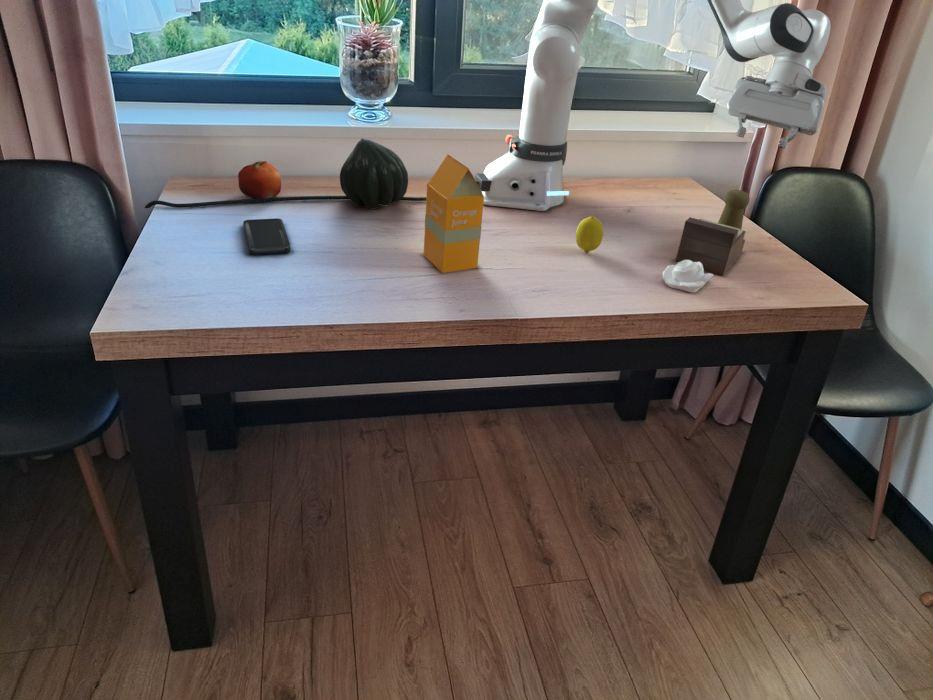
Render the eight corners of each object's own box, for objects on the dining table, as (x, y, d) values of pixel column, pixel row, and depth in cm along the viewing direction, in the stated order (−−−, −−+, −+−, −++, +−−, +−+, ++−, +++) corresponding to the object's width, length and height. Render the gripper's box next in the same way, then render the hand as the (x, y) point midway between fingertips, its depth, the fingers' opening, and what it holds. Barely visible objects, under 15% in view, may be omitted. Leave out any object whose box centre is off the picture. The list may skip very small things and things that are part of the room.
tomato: (290, 197, 167) (289, 162, 163) (260, 208, 161) (258, 172, 156) (261, 187, 171) (258, 153, 167) (230, 197, 165) (227, 162, 160)
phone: (248, 250, 139) (242, 219, 151) (249, 255, 140) (243, 224, 152) (291, 247, 142) (282, 218, 154) (291, 252, 142) (282, 223, 154)
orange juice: (442, 273, 140) (449, 170, 130) (422, 254, 147) (427, 155, 136) (478, 267, 144) (488, 166, 133) (457, 249, 150) (465, 152, 140)
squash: (425, 189, 163) (402, 126, 163) (364, 201, 155) (340, 135, 156) (401, 213, 175) (379, 154, 176) (343, 225, 168) (321, 164, 168)
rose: (725, 274, 139) (675, 272, 138) (719, 295, 141) (670, 293, 140) (706, 252, 148) (659, 250, 147) (701, 272, 150) (655, 270, 149)
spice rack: (696, 240, 165) (706, 201, 160) (741, 252, 160) (753, 213, 156) (675, 261, 153) (685, 221, 149) (722, 275, 149) (734, 234, 145)
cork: (741, 245, 164) (755, 198, 158) (713, 241, 165) (726, 194, 159) (738, 235, 169) (751, 189, 163) (711, 231, 170) (723, 185, 164)
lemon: (601, 250, 156) (608, 214, 151) (596, 260, 151) (603, 223, 147) (576, 245, 157) (582, 209, 153) (570, 254, 152) (576, 218, 148)
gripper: (739, 67, 167) (714, 123, 167) (833, 88, 158) (806, 147, 158) (741, 80, 172) (716, 135, 173) (832, 101, 164) (806, 159, 164)
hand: (760, 141), depth 165 cm, fingers open, 8 cm apart
